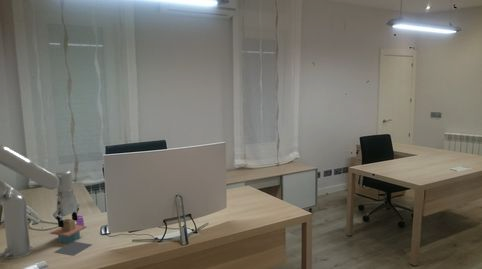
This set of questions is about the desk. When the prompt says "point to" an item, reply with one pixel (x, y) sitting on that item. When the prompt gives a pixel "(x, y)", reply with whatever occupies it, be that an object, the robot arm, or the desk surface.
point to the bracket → (80, 220)
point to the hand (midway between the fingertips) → (68, 223)
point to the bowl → (70, 238)
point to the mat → (73, 248)
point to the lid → (68, 228)
